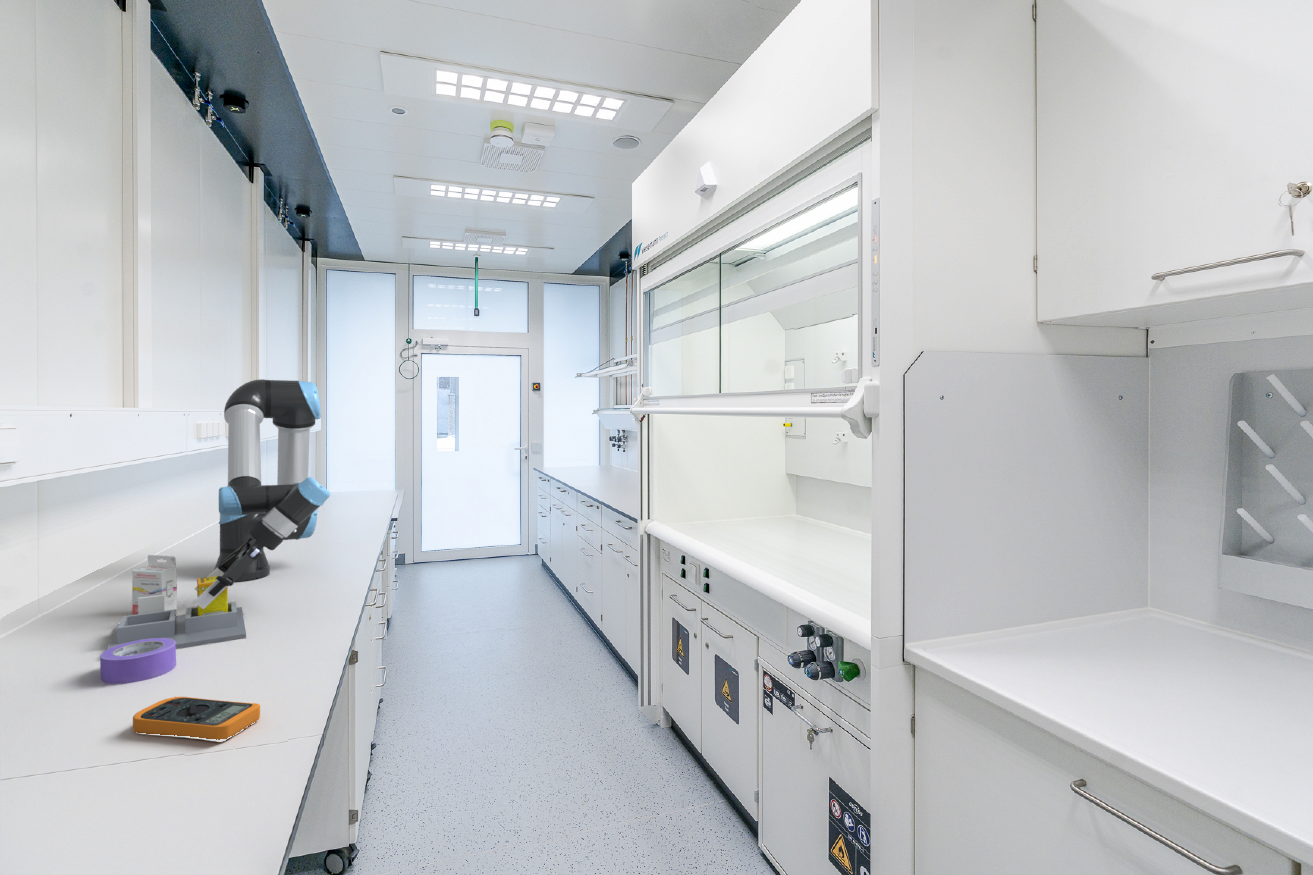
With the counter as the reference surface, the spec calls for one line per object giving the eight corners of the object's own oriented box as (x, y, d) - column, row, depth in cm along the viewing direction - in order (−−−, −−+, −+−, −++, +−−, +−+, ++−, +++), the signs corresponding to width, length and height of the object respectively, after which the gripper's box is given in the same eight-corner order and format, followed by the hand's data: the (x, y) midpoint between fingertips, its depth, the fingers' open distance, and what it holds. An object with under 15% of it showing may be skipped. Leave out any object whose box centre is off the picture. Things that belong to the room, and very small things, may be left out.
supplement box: (197, 622, 154) (196, 578, 153) (226, 618, 157) (226, 574, 157) (197, 629, 149) (197, 583, 149) (228, 624, 153) (227, 579, 152)
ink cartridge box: (130, 615, 161) (130, 558, 160) (148, 609, 166) (147, 554, 165) (161, 617, 160) (161, 560, 160) (178, 611, 165) (177, 555, 164)
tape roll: (95, 689, 119) (94, 663, 119) (106, 668, 129) (105, 644, 129) (173, 676, 125) (173, 651, 125) (178, 657, 135) (178, 634, 135)
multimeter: (172, 712, 111) (172, 692, 111) (264, 721, 109) (263, 701, 108) (124, 736, 103) (124, 715, 102) (223, 747, 100) (222, 725, 100)
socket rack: (117, 627, 152) (117, 599, 152) (241, 610, 166) (241, 584, 166) (104, 660, 132) (103, 627, 132) (246, 637, 147) (245, 608, 147)
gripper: (289, 547, 151) (212, 621, 143) (280, 531, 171) (212, 595, 163) (263, 527, 148) (183, 601, 140) (257, 513, 168) (186, 577, 159)
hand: (198, 598), depth 151 cm, fingers open, 12 cm apart
